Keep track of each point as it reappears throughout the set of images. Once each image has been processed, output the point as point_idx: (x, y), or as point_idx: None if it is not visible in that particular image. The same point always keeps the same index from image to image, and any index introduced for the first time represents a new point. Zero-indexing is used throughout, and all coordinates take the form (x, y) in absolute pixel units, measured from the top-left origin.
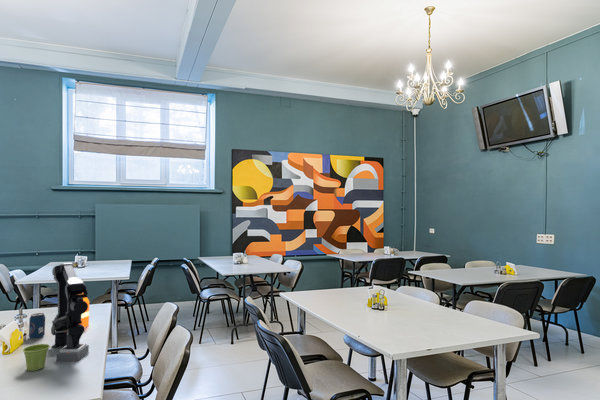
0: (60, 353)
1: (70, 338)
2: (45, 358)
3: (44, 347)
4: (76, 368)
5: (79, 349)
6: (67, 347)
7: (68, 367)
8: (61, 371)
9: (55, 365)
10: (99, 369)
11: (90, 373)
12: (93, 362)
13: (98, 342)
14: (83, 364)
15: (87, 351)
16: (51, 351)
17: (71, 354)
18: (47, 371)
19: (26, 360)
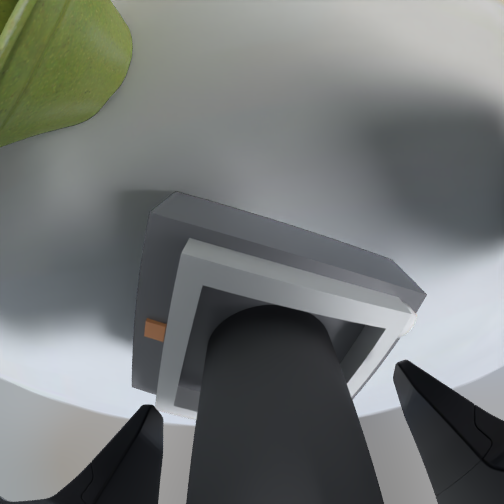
0: (153, 256)
1: (189, 477)
2: (21, 139)
3: (17, 69)
4: (45, 332)
5: (176, 410)
6: (229, 344)
7: (53, 296)
8: (10, 265)
9: (92, 205)
10: (50, 396)
11: (16, 368)
12: (122, 398)
13: (458, 374)
14: (95, 364)
15: None
16: (479, 133)
17: (135, 345)
18: (11, 182)
19: (6, 13)
